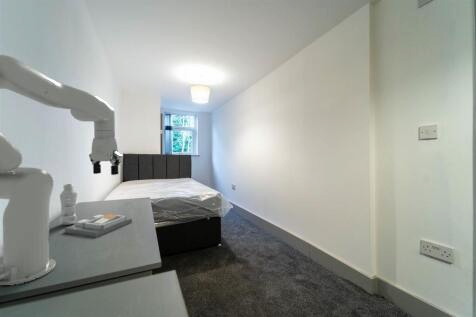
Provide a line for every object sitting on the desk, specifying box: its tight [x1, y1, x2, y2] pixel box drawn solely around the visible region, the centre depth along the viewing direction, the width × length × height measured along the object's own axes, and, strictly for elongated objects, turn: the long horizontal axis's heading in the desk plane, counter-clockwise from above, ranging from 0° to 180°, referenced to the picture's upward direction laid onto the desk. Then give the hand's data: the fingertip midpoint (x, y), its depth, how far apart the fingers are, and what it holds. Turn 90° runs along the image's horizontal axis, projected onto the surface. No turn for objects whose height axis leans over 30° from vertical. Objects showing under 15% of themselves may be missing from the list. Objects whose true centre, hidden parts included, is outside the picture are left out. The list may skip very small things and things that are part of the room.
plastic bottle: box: [59, 183, 78, 226], centre depth 101 cm, size 6×7×20 cm
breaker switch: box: [94, 213, 118, 224], centre depth 98 cm, size 8×5×1 cm, turn 166°
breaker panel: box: [64, 214, 133, 238], centre depth 99 cm, size 20×18×4 cm
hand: (105, 174), depth 89 cm, fingers open, 9 cm apart
